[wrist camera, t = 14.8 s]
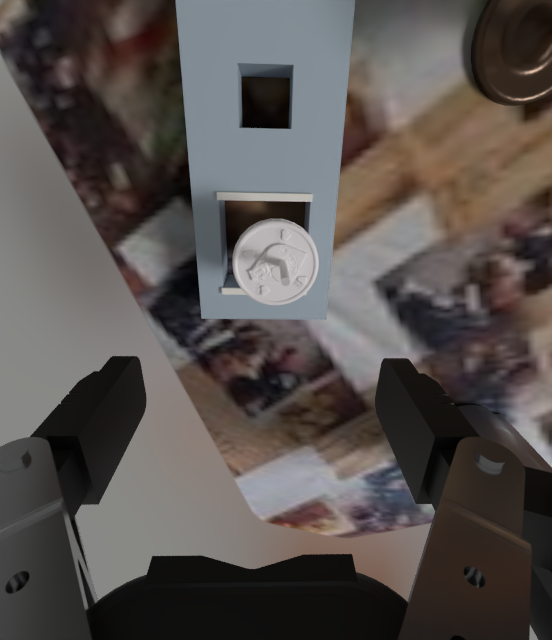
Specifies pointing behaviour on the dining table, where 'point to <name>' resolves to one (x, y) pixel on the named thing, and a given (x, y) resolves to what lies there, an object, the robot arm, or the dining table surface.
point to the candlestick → (514, 51)
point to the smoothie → (275, 262)
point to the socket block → (263, 131)
